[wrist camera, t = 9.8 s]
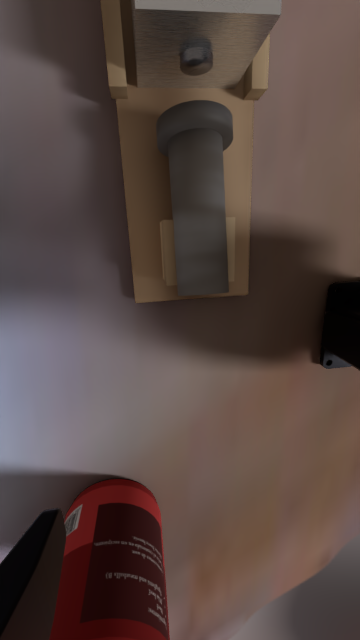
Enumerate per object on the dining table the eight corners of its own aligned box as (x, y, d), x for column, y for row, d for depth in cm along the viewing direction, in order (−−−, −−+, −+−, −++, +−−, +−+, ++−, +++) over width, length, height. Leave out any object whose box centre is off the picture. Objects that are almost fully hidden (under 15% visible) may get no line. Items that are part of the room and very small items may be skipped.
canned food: (74, 554, 24) (21, 809, 13) (58, 482, 21) (-24, 723, 11) (163, 539, 24) (179, 766, 14) (157, 468, 22) (170, 678, 12)
